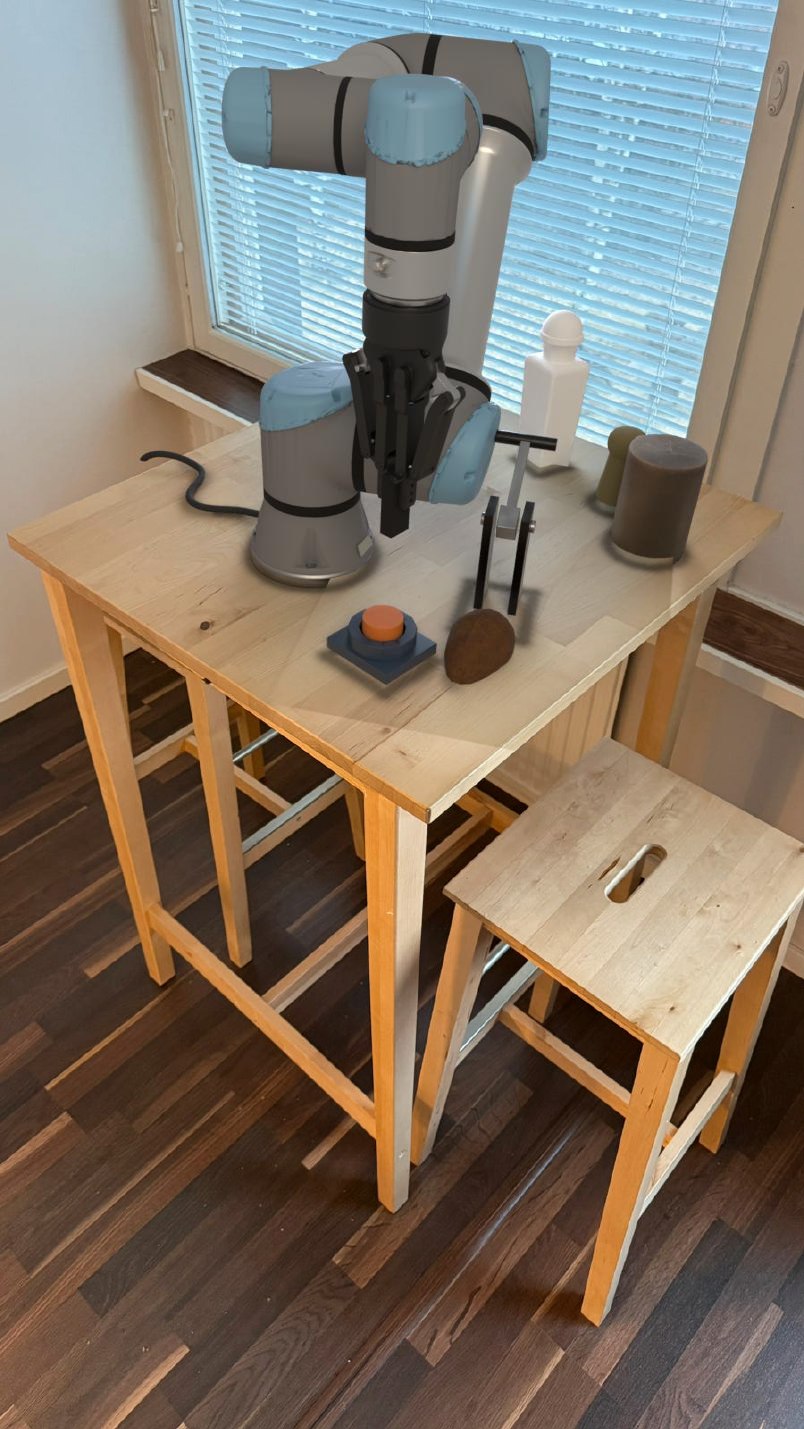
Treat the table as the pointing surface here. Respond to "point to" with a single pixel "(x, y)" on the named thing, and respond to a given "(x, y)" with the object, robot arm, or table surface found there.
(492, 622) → the potato
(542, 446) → the lever
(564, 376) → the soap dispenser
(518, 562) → the lever bracket
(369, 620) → the button
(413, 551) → the table surface
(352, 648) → the button block
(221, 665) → the table surface
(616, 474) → the olive pawn
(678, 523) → the pillar candle
